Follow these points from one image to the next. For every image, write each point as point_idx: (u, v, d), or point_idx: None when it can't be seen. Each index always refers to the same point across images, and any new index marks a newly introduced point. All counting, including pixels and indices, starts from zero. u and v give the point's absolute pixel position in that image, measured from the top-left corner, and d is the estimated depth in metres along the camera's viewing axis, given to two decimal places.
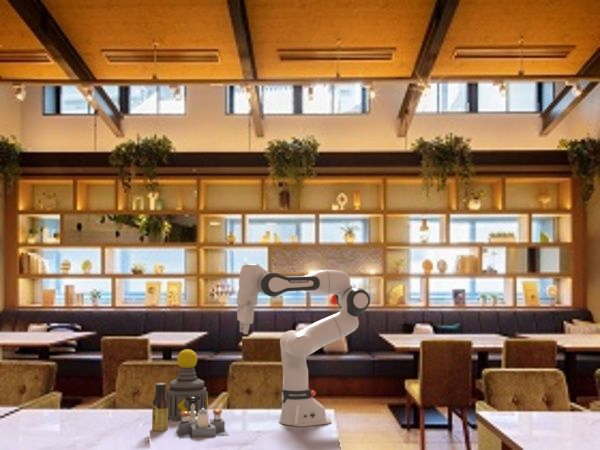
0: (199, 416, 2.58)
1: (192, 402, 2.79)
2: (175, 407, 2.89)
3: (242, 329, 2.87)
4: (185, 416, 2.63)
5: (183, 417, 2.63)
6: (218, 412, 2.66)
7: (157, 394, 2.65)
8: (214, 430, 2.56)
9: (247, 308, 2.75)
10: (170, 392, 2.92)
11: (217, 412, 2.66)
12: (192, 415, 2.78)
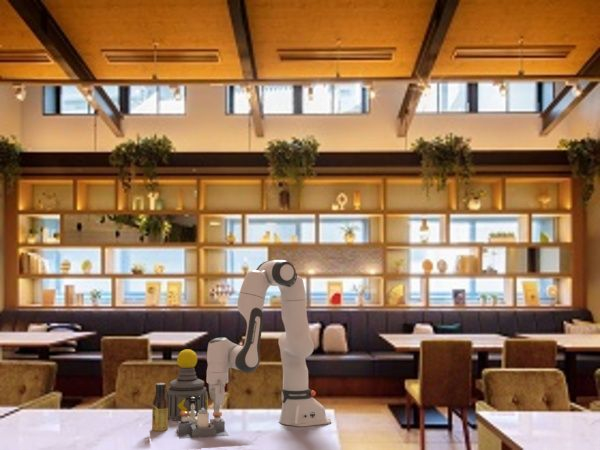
0: (199, 416, 2.58)
1: (192, 402, 2.79)
2: (175, 407, 2.89)
3: None
4: (185, 416, 2.63)
5: (183, 417, 2.63)
6: (218, 415, 2.66)
7: (157, 394, 2.65)
8: (214, 430, 2.56)
9: (217, 389, 2.59)
10: (170, 392, 2.92)
11: (217, 415, 2.66)
12: (192, 415, 2.78)
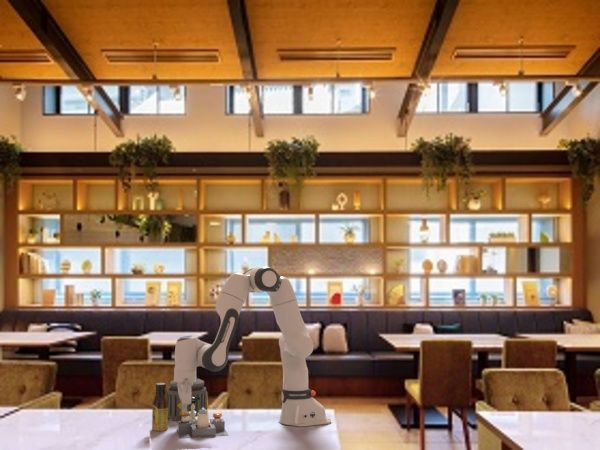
0: (199, 416, 2.58)
1: (192, 402, 2.79)
2: (175, 407, 2.89)
3: None
4: (185, 416, 2.63)
5: (183, 417, 2.63)
6: (218, 416, 2.66)
7: (157, 394, 2.65)
8: (214, 430, 2.56)
9: (183, 388, 2.56)
10: (170, 392, 2.92)
11: (217, 416, 2.66)
12: (192, 415, 2.78)
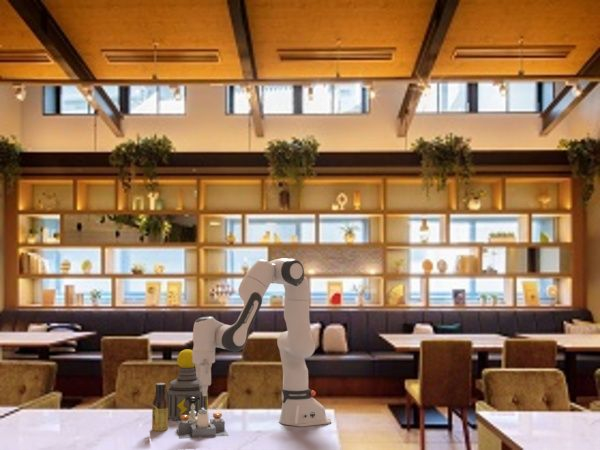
0: (199, 416, 2.58)
1: (192, 402, 2.79)
2: (175, 407, 2.89)
3: (202, 388, 2.64)
4: (185, 420, 2.63)
5: (183, 421, 2.63)
6: (218, 416, 2.66)
7: (157, 394, 2.65)
8: (214, 430, 2.56)
9: (203, 368, 2.52)
10: (170, 392, 2.92)
11: (217, 416, 2.66)
12: (192, 415, 2.78)
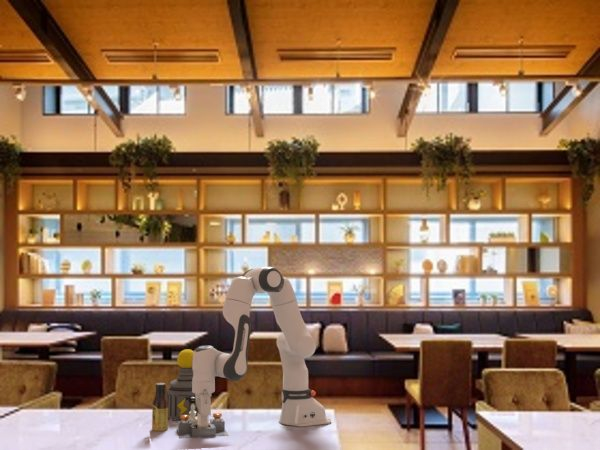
0: (199, 416, 2.58)
1: (192, 402, 2.79)
2: (175, 407, 2.89)
3: None
4: (185, 420, 2.63)
5: (183, 421, 2.63)
6: (218, 416, 2.66)
7: (157, 394, 2.65)
8: (214, 430, 2.56)
9: (203, 399, 2.51)
10: (170, 392, 2.92)
11: (217, 416, 2.66)
12: (192, 415, 2.78)
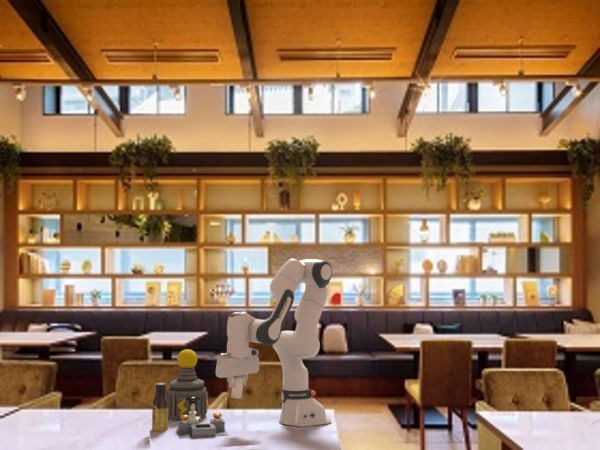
0: (232, 379, 2.67)
1: (192, 402, 2.79)
2: (175, 407, 2.89)
3: None
4: (185, 420, 2.63)
5: (183, 421, 2.63)
6: (218, 416, 2.66)
7: (157, 394, 2.65)
8: (214, 430, 2.56)
9: None
10: (170, 392, 2.92)
11: (217, 416, 2.66)
12: (192, 415, 2.78)
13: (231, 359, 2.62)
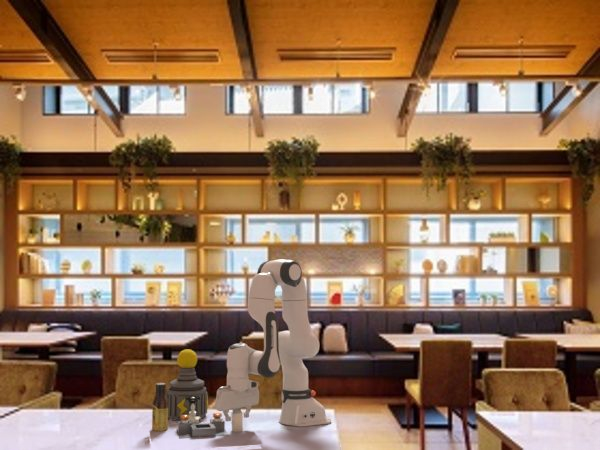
0: (231, 414, 2.65)
1: (192, 402, 2.79)
2: (175, 407, 2.89)
3: (245, 414, 2.68)
4: (185, 420, 2.63)
5: (183, 421, 2.63)
6: (218, 416, 2.66)
7: (157, 394, 2.65)
8: (214, 430, 2.56)
9: None
10: (170, 392, 2.92)
11: (217, 416, 2.66)
12: (192, 415, 2.78)
13: (231, 392, 2.62)
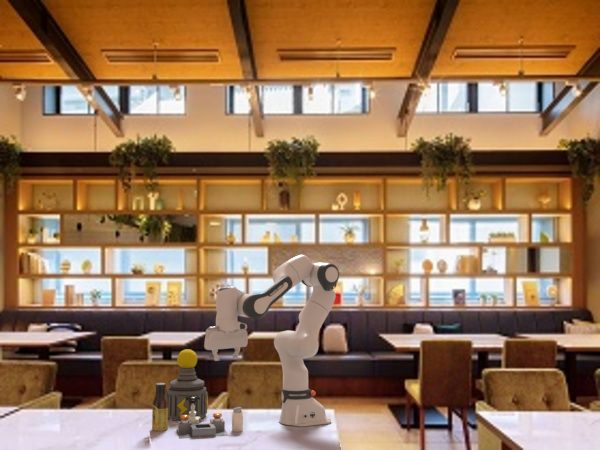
0: (232, 414, 2.65)
1: (192, 402, 2.79)
2: (175, 407, 2.89)
3: (233, 355, 2.74)
4: (185, 420, 2.63)
5: (183, 421, 2.63)
6: (218, 416, 2.66)
7: (157, 394, 2.65)
8: (214, 430, 2.56)
9: None
10: (170, 392, 2.92)
11: (217, 416, 2.66)
12: (192, 415, 2.78)
13: (220, 332, 2.67)
